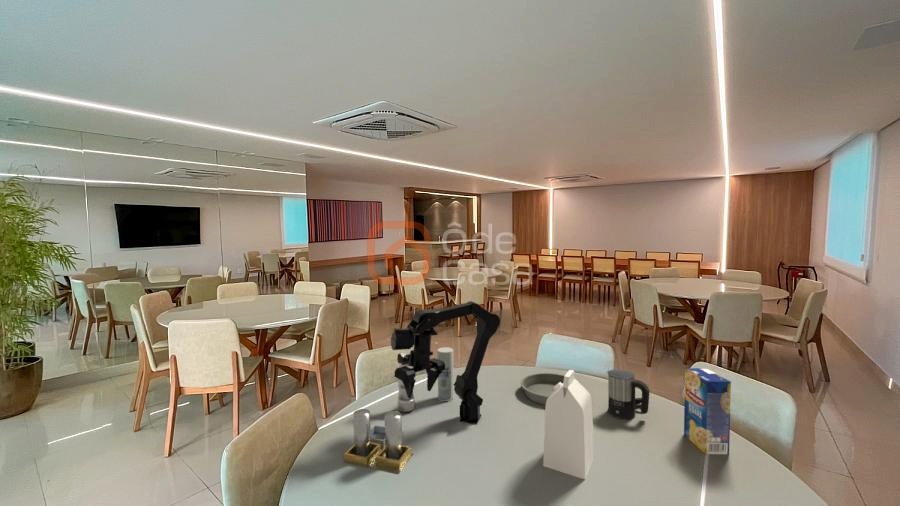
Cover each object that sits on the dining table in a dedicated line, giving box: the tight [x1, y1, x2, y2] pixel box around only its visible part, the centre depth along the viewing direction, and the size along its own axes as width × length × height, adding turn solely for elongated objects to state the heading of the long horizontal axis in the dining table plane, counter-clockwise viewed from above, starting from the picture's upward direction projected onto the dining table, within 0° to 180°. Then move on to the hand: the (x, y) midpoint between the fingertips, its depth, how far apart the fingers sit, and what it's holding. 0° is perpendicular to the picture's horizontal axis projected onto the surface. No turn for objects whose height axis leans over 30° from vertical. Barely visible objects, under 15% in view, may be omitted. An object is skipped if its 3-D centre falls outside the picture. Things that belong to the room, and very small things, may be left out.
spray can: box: [436, 346, 455, 402], centre depth 148 cm, size 6×6×20 cm
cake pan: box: [520, 372, 565, 406], centre depth 152 cm, size 25×25×4 cm
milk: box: [542, 369, 595, 480], centre depth 106 cm, size 12×12×26 cm
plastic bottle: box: [396, 363, 416, 413], centre depth 139 cm, size 6×7×20 cm
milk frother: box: [607, 369, 650, 420], centre depth 136 cm, size 14×16×15 cm
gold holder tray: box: [342, 443, 414, 475], centre depth 108 cm, size 18×10×3 cm, turn 71°
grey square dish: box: [370, 424, 385, 448], centre depth 118 cm, size 8×8×3 cm
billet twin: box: [352, 408, 372, 457], centre depth 109 cm, size 5×5×13 cm
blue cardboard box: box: [683, 367, 732, 455], centre depth 114 cm, size 7×11×22 cm, turn 177°
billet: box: [384, 410, 403, 460], centre depth 107 cm, size 5×5×13 cm
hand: (419, 394), depth 124 cm, fingers open, 9 cm apart
